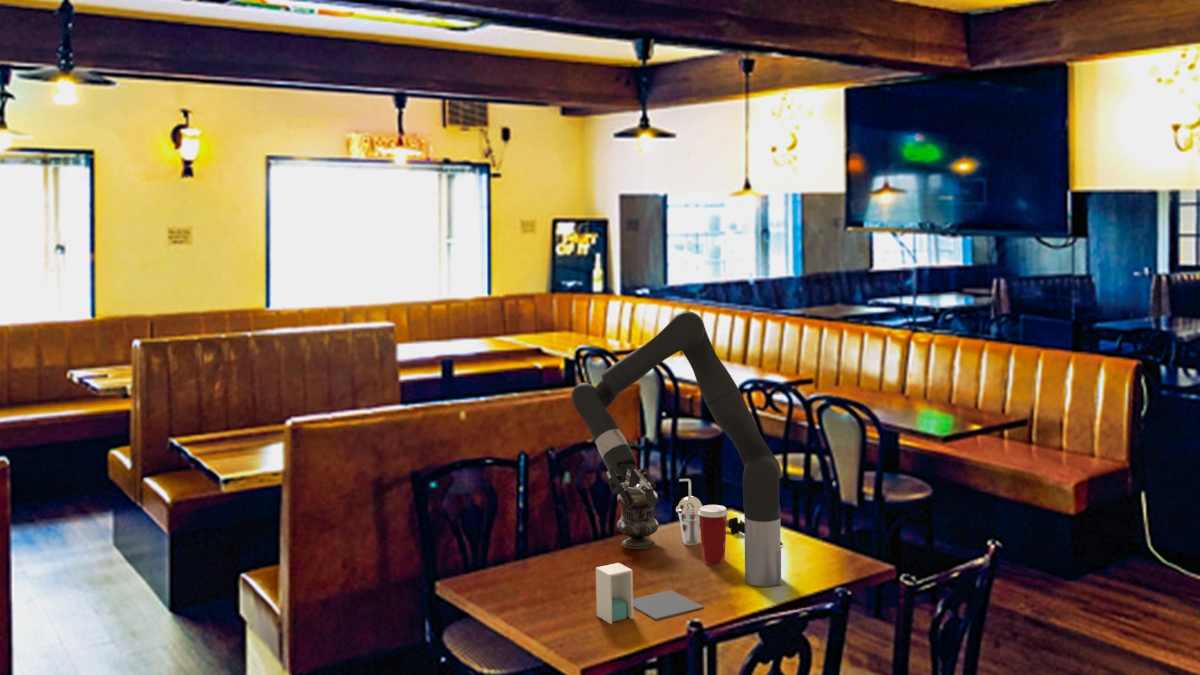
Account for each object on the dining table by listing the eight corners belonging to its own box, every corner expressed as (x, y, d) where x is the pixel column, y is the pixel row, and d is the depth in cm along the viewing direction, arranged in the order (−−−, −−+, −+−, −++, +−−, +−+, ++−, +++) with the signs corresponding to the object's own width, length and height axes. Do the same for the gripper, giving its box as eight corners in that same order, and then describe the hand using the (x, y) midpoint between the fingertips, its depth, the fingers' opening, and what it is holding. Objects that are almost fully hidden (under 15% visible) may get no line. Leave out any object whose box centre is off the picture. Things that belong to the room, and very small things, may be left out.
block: (603, 616, 260) (603, 600, 259) (617, 613, 262) (617, 597, 261) (612, 622, 256) (611, 605, 256) (626, 618, 258) (626, 602, 258)
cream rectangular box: (596, 615, 260) (595, 567, 259) (619, 610, 263) (618, 562, 262) (610, 624, 255) (609, 574, 253) (633, 618, 258) (632, 569, 257)
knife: (703, 521, 333) (704, 507, 332) (710, 519, 334) (711, 505, 333) (775, 555, 309) (776, 540, 308) (782, 552, 310) (784, 538, 310)
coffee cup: (734, 561, 298) (734, 508, 296) (711, 567, 293) (711, 514, 291) (714, 554, 305) (714, 502, 303) (692, 560, 300) (691, 507, 298)
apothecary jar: (664, 548, 311) (663, 487, 309) (624, 552, 308) (623, 491, 306) (650, 536, 323) (649, 477, 321) (612, 540, 319) (610, 481, 317)
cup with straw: (710, 545, 313) (709, 477, 311) (681, 549, 310) (680, 480, 308) (697, 537, 321) (696, 471, 319) (669, 540, 318) (668, 474, 316)
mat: (671, 591, 276) (671, 590, 276) (703, 608, 264) (703, 606, 264) (624, 602, 269) (624, 600, 269) (655, 620, 257) (655, 618, 257)
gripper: (605, 443, 267) (633, 498, 260) (642, 442, 278) (671, 496, 270) (587, 460, 271) (614, 515, 264) (624, 459, 281) (652, 512, 274)
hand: (643, 505), depth 267 cm, fingers open, 8 cm apart
